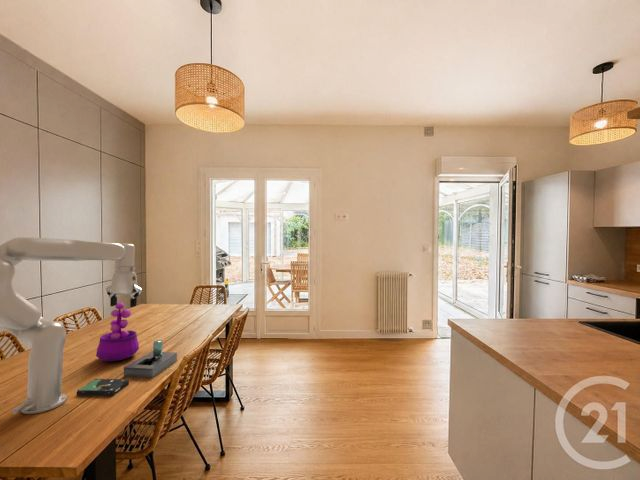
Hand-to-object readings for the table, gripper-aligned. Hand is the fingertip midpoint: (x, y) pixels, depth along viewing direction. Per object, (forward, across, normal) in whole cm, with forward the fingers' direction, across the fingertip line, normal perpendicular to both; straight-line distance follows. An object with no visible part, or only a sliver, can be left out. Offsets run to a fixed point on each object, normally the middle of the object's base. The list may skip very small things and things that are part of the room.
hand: (123, 306), depth 135 cm
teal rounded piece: (+32, -9, -13) cm, 36 cm away
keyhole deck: (+32, -9, -9) cm, 35 cm away
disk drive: (+33, -3, +13) cm, 36 cm away
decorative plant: (+32, +16, -18) cm, 40 cm away
